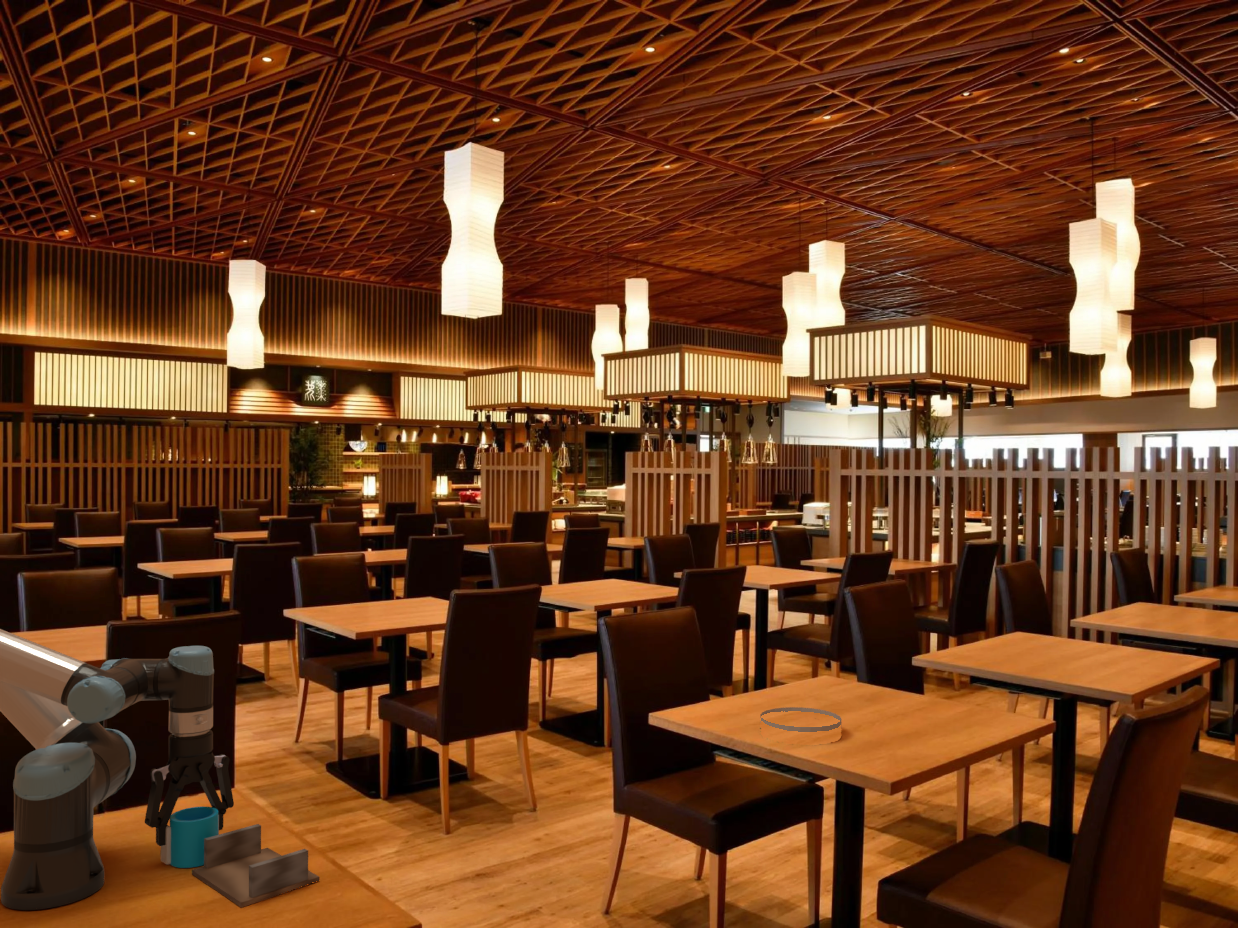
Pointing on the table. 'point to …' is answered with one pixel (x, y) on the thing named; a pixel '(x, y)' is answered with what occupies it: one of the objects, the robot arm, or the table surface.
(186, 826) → the mug
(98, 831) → the table surface
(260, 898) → the holder
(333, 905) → the table surface
